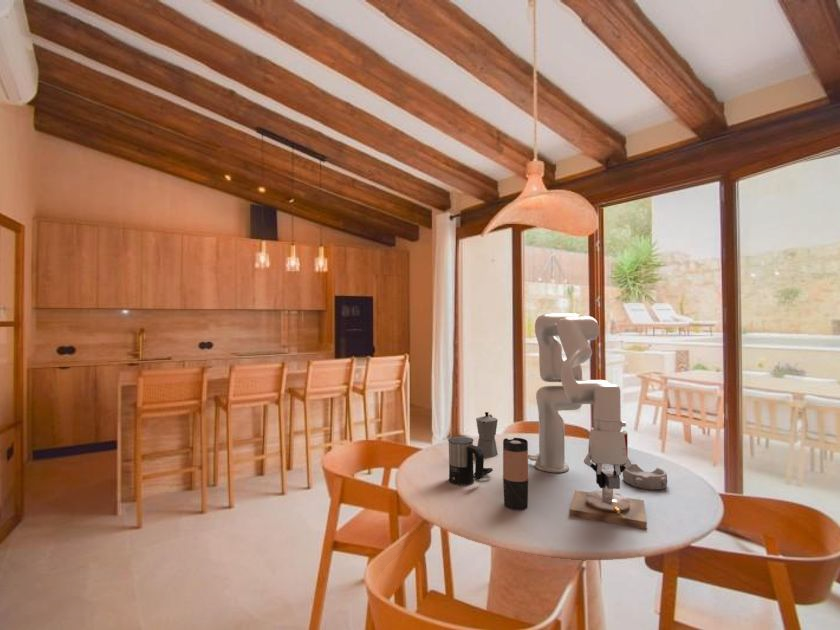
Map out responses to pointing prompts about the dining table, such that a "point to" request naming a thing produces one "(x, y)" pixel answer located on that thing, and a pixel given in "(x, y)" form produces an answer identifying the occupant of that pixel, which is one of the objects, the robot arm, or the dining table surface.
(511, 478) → the travel mug
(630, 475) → the dish
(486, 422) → the coffeepot
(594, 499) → the door handle
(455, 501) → the dining table surface
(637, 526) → the dial stand
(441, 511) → the dining table surface
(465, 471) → the milk frother
